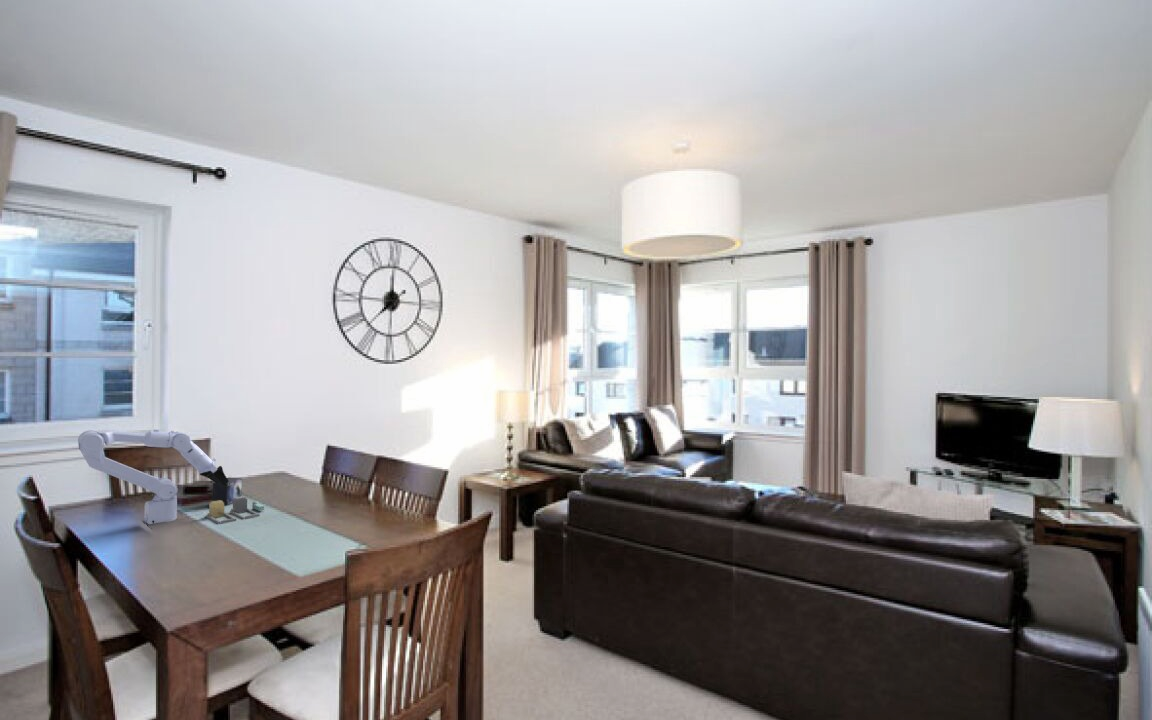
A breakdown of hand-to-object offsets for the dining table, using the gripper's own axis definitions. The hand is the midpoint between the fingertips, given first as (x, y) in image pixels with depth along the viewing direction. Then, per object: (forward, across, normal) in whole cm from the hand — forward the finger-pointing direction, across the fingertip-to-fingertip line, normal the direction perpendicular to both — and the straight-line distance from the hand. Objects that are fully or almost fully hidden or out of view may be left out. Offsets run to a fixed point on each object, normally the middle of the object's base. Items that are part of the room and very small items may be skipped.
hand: (223, 482), depth 226 cm
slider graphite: (+11, -6, +4) cm, 13 cm away
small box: (+12, +13, +3) cm, 18 cm away
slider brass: (+6, -6, +10) cm, 14 cm away
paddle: (+15, -9, 0) cm, 17 cm away
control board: (+10, -10, +7) cm, 16 cm away
